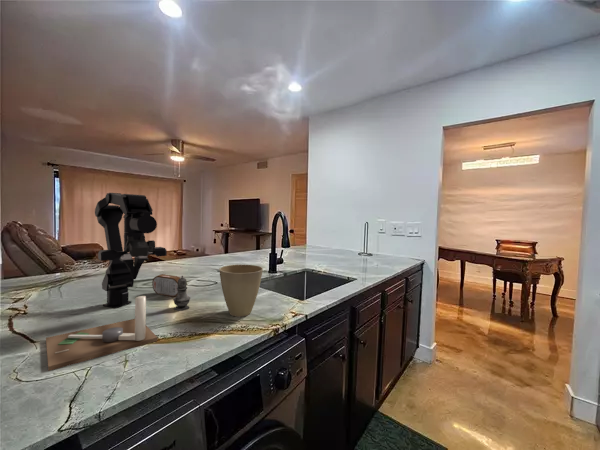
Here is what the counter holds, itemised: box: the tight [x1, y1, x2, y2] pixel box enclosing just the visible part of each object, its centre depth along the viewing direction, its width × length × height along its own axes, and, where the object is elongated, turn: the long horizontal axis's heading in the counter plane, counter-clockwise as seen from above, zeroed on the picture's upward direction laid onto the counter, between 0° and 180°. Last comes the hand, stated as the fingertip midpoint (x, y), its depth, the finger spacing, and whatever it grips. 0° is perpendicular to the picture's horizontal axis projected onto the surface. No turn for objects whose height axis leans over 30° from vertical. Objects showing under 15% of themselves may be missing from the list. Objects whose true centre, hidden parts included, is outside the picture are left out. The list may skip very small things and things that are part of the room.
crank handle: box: [68, 295, 147, 342], centre depth 70 cm, size 19×4×11 cm, turn 92°
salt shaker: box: [172, 275, 191, 312], centre depth 98 cm, size 6×6×12 cm
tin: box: [151, 273, 181, 298], centre depth 113 cm, size 15×3×8 cm, turn 71°
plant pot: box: [219, 263, 264, 318], centre depth 95 cm, size 15×15×16 cm
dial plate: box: [45, 318, 158, 372], centre depth 72 cm, size 22×18×1 cm
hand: (134, 279), depth 90 cm, fingers closed
